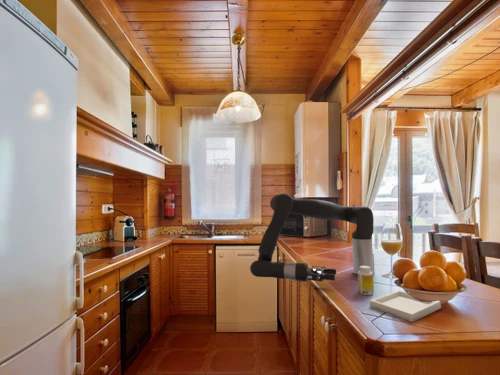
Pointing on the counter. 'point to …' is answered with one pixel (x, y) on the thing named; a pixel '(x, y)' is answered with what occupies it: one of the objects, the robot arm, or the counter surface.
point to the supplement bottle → (365, 281)
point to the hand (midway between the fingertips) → (335, 274)
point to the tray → (404, 305)
